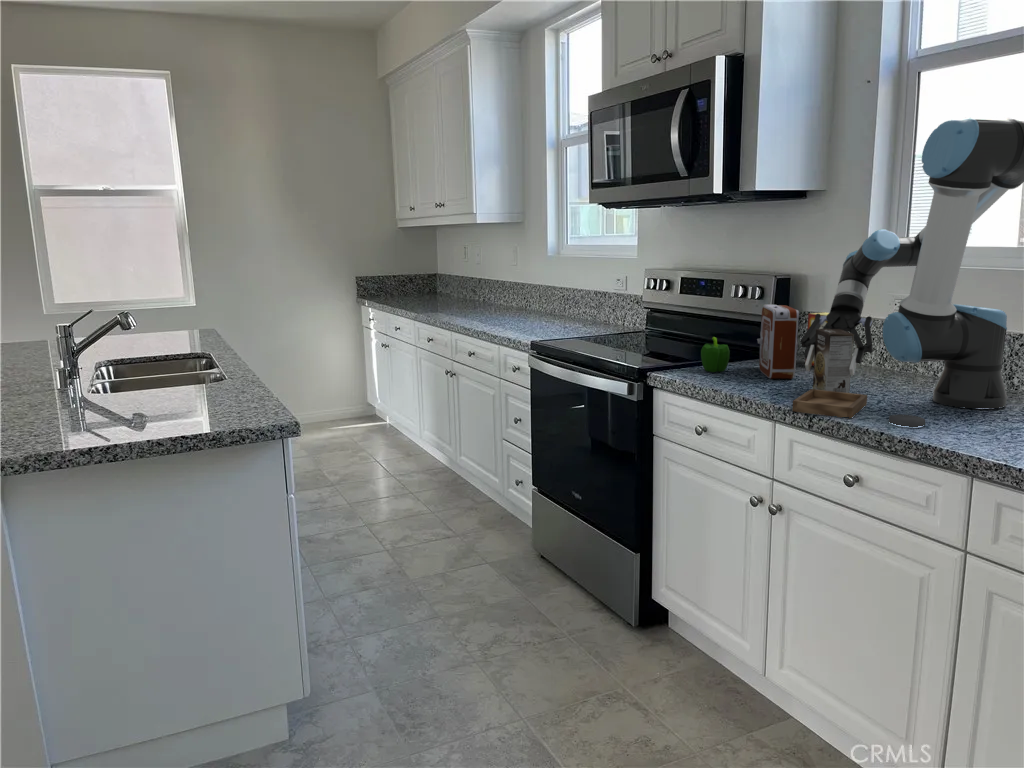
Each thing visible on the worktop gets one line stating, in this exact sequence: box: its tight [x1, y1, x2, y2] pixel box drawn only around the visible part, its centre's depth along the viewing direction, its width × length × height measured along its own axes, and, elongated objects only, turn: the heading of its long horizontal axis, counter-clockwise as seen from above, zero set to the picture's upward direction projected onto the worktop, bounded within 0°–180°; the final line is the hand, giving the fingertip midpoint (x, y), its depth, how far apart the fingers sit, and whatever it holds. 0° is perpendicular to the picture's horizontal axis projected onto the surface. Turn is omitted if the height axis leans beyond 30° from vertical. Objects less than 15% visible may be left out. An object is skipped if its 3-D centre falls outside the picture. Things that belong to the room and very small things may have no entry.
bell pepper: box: [700, 336, 731, 373], centre depth 223 cm, size 8×8×10 cm
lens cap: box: [888, 414, 926, 427], centre depth 163 cm, size 7×7×2 cm
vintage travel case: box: [756, 304, 800, 380], centre depth 217 cm, size 9×19×20 cm, turn 174°
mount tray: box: [791, 388, 868, 419], centre depth 178 cm, size 13×15×2 cm
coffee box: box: [812, 329, 854, 393], centre depth 191 cm, size 9×6×16 cm
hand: (828, 370), depth 189 cm, fingers closed on coffee box, 10 cm apart
